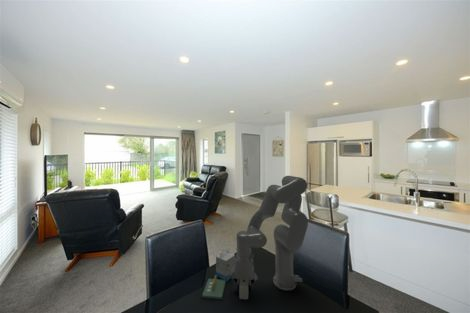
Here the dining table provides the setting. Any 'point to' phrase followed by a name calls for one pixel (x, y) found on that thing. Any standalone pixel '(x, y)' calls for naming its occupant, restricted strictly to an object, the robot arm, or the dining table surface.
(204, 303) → the dining table surface
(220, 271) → the ink box
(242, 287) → the white switch box
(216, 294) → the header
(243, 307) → the dining table surface
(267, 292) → the dining table surface
